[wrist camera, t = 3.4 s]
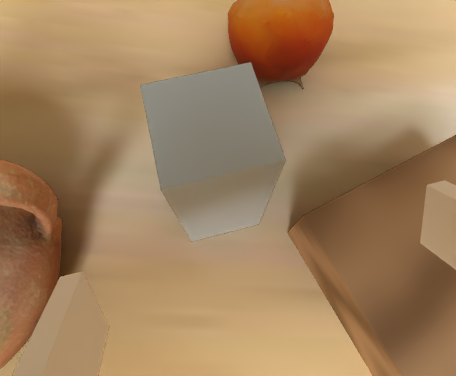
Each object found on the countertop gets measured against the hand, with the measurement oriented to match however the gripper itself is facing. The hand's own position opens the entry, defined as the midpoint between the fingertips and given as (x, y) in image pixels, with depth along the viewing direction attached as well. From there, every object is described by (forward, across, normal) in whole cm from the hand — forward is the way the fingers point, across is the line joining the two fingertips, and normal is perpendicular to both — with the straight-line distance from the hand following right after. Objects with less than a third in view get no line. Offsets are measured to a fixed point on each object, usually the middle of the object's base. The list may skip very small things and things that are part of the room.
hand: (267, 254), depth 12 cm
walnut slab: (+6, +11, -9) cm, 15 cm away
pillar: (+11, -1, -3) cm, 12 cm away
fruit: (+20, +7, +5) cm, 22 cm away
